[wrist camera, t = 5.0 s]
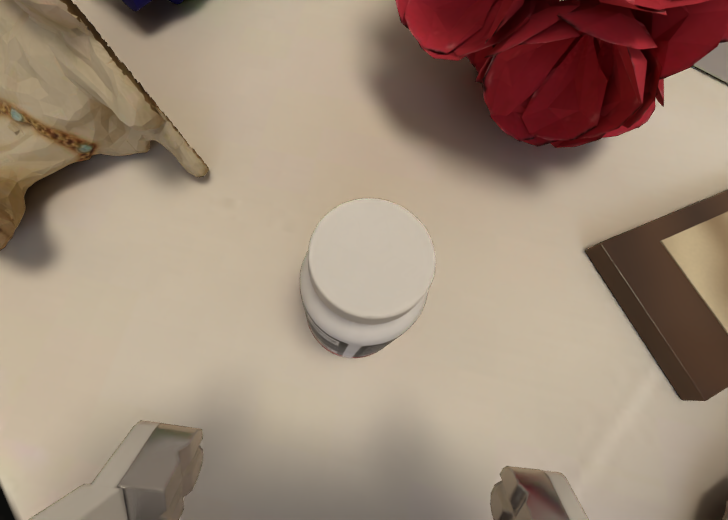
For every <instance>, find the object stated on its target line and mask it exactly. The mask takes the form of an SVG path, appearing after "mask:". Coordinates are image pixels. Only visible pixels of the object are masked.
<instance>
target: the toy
mask: <svg viewBox="0 0 728 520" xmlns="http://www.w3.org/2000/svg"><path fill="white" fill-rule="evenodd" d="M122 1H123V2H124V3H125V4H126V5H127V6H128V7H129V8H130V9H132V10H133V11H138V10H139V9H141V8H142V7H144V6H145V5H146V4H148V3H149V2H151V1H152V0H122ZM168 1H170V2H172V3H174V4H180V3H181V2H182V1H184V0H168Z"/></svg>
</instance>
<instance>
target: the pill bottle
mask: <svg viewBox="0 0 728 520" xmlns="http://www.w3.org/2000/svg"><path fill="white" fill-rule="evenodd" d="M435 269H436V255H435V248H434V245H433V242H432V239H431V237H430V235H429V233H428V231H427V229H426V228H425V226H424V225H423V224H422V222H421V221H420V220H419V219H418V218H417V217H416V216H415V215H414V214H412V213H411V212H410V211H408V210H407V209H405V208H404V207H402V206H400V205H398V204H396V203H393V202H390V201H387V200H383V199H377V198H360V199H355V200H351V201H348V202H345V203H342V204H340V205H338V206H337V207H335V208H333V209H332V210H331V211H329V212H328V213H327V214H326V215H325V216H324V217H323V218H322V219H321V220H320V222H319V223H318V224H317V226H316V228H315V230H314V231H313V234H312V236H311V239H310V243H309V248H308V251H307V253H306V255H305V257H304V260H303V263H302V266H301V271H300V292H301V298H302V301H303V305H304V309H305V313H306V317H307V321H308V325H309V328H310V330H311V332H312V334H313V335H314V337H315V338H316V340H317V341H318V342H319V343H320V344H321V345H322V346H323V347H324V348H325V349H327V350H328V351H330V352H332V353H334V354H336V355H339V356H342V357H347V358H361V357H366V356H369V355H372V354H374V353H376V352H378V351H379V350H381V349H382V348H384V347H385V346H386V345H388V344H389V343H391V342H392V341H393V340H395V339H396V338H398V337H399V336H401V335H402V334H403V333H404V332H406V331H407V330H408V329H409V328H410V327H411V326H412V325H413V324H414V322H415V321H416V320H417V318H418V317H419V315H420V314H421V312H422V310H423V308H424V305H425V302H426V299H427V294H428V290H429V288H430V286H431V284H432V281H433V278H434V274H435Z"/></svg>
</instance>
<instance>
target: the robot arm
mask: <svg viewBox="0 0 728 520" xmlns="http://www.w3.org/2000/svg"><path fill="white" fill-rule="evenodd" d="M202 439H203V434H202V429H198V428H192V427H185V426H178V425H171V424H164V423H158V422H150V421H142V420H141V421H139V422H138V423H137V424H136V425H134V426H133V428H132V429H131V430H130V432H129V433H128V434H127V436H126V437H125V438H124V440H123V441H122V443H121V444H120V445H119V447H118V448H117V449H116V451H115V452H114V453H113V455H112V456H111V457H110V459H109V460H108V462H107V463H106V464H105V466H104V467H103V468H102V470H101V471H100V472H99V474H98V475H97V476H96V478H95V479H94V481H93V482H92V483H91V484H83V485H81V486H80V487H78V488H77V489H75V490H74V491H72V492H71V493H69V494H67V495H66V496H64V497H63V498H61V499H60V500H58V501H57V502H55V503H53V504H52V505H50V506H49V507H47V508H46V509H44V510H43V511H41V512H39V513H38V514H36V515H35V516H33V517H32V518H30V519H29V520H179V519H180V517H181V515H182V512H183V510H184V503H183V498H184V497H185V496H186V495H187V494H189V493H190V492H191V491H192V490H193V488H194V486H195V484H196V481H197V479H198V476H199V473H200V470H201V467H202V461H203V449H202V448H201V447H200V446H199V445H200V443H201V441H202ZM500 476H501V479H502V481H500V482H498V483H497V484H495V485H494V487H493V489H492V492H491V500H490V505H491V512H492V516H493V520H589V519H588V517H587V515H586V513H585V512H584V510H583V508H582V506H581V504H580V502H579V501H578V499H577V497H576V495H575V493H574V491H573V490H572V488H571V486H570V484H569V482H568V480H567V479H566V477H565V476H564V475H563V474H562V473H559V472H551V471H541V470H539V469H530V468H520V467H511V466H506V467H504V468H503V469H502V471H501V473H500Z"/></svg>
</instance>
